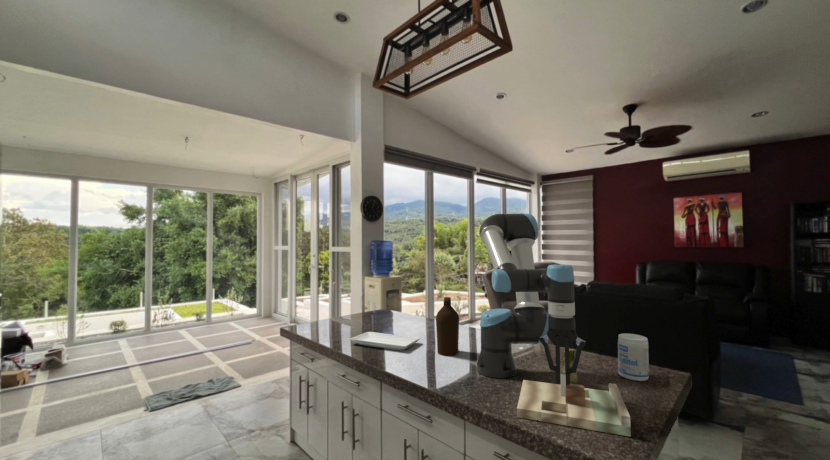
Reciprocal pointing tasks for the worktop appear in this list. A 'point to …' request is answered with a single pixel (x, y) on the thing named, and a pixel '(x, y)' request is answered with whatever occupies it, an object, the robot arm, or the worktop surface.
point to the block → (575, 394)
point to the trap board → (575, 408)
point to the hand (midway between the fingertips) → (563, 394)
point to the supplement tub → (633, 357)
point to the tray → (385, 340)
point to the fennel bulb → (571, 357)
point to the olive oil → (447, 329)
